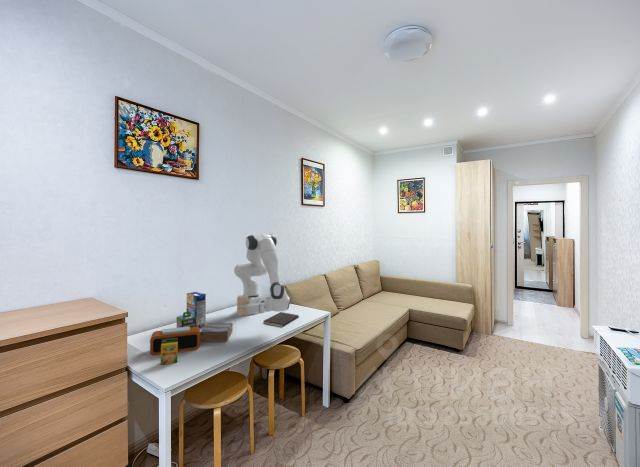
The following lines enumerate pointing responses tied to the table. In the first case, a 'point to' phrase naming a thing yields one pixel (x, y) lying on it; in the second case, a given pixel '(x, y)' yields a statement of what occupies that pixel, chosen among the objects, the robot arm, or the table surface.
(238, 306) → the carton
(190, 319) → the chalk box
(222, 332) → the podium
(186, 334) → the alarm clock
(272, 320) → the hardcover book
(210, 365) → the table surface
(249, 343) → the table surface
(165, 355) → the crayon box
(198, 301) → the beverage box
